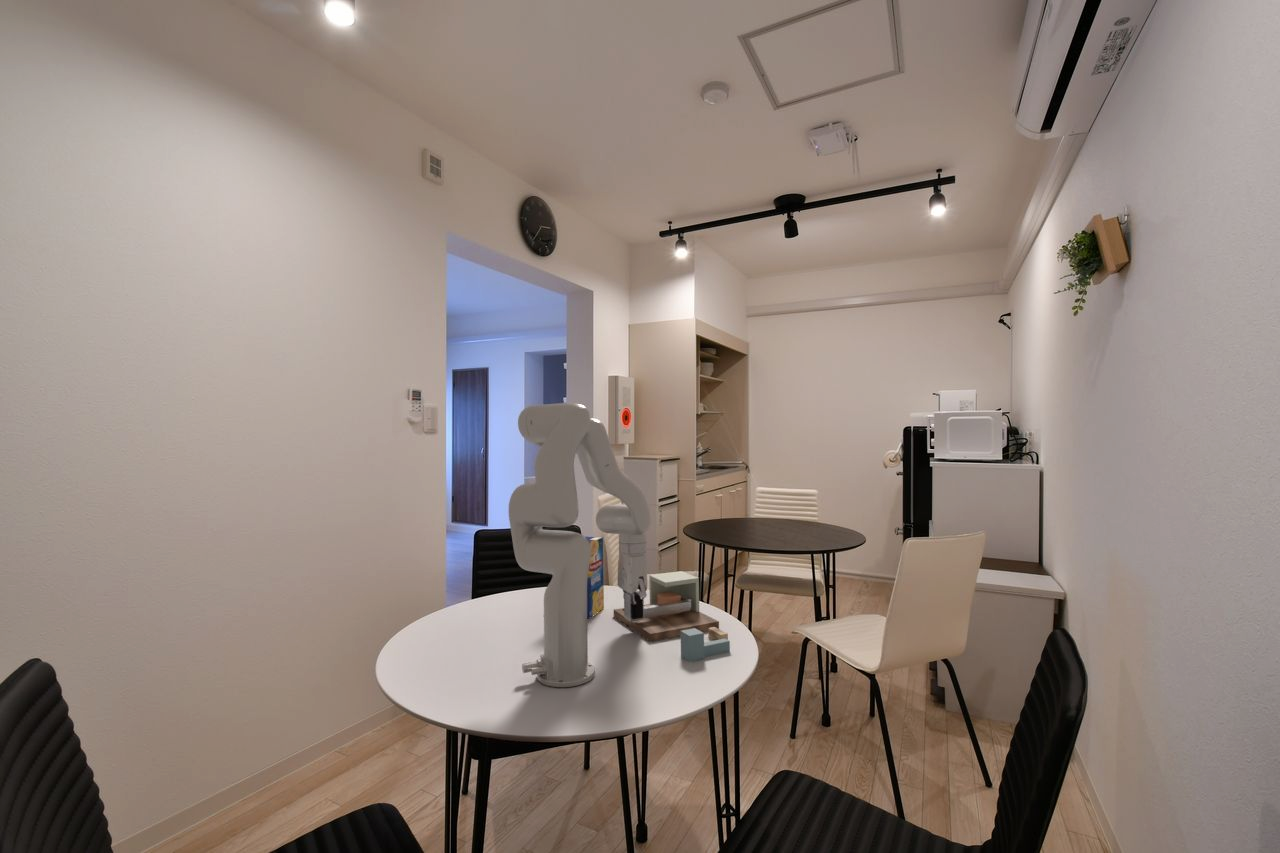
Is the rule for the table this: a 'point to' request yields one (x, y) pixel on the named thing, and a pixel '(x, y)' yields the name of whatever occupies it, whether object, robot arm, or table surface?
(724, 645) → the light blue l-shaped block
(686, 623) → the deck
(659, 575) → the cubby
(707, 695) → the table surface
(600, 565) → the blue food box
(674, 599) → the cube
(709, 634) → the short block
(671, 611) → the crook
